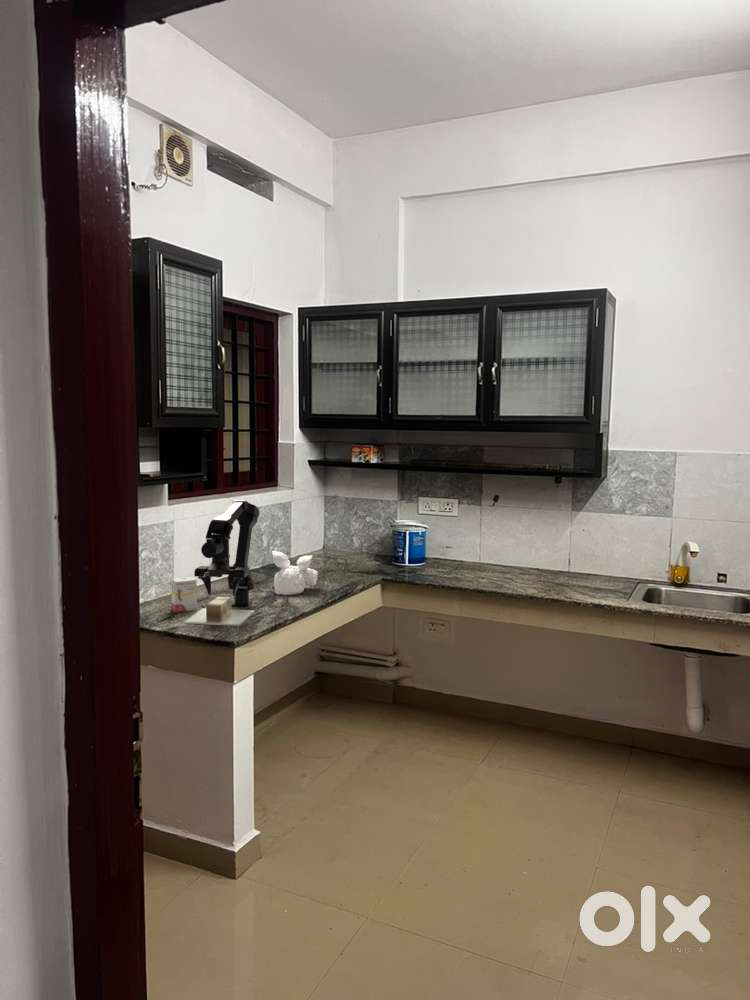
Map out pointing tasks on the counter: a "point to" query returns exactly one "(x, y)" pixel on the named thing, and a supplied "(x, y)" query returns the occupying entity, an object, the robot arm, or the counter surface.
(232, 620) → the sage mat
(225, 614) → the birch block
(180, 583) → the ink box
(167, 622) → the counter surface
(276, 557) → the white tied bag bundle
